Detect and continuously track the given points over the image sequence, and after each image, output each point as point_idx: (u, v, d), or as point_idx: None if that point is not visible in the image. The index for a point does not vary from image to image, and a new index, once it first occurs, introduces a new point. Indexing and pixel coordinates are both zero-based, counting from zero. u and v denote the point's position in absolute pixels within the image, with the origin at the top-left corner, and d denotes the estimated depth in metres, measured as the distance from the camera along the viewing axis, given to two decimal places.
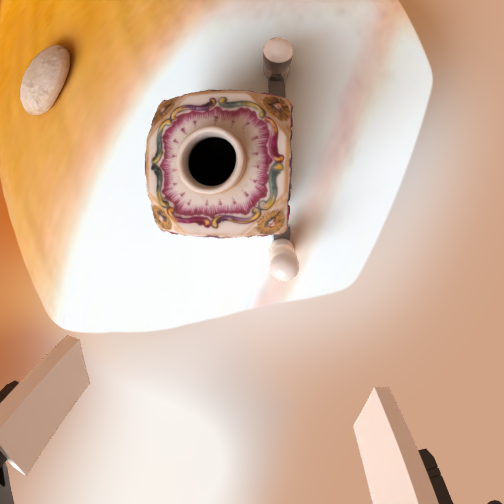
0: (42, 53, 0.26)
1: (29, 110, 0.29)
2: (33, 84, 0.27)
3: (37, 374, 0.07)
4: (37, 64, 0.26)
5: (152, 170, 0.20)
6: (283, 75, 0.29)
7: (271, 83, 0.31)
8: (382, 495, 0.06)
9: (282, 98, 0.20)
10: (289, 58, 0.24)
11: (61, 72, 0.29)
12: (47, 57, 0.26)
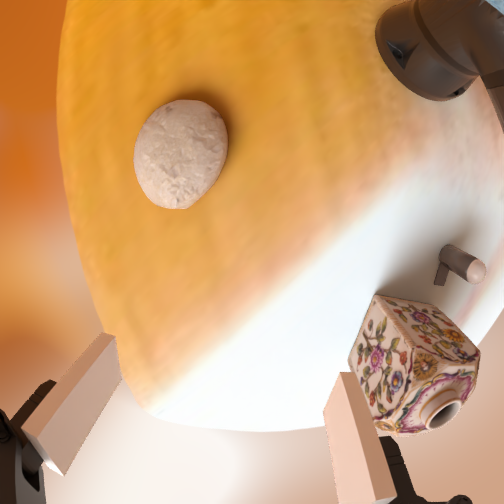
0: (185, 113, 0.26)
1: (159, 205, 0.29)
2: (177, 173, 0.27)
3: (76, 372, 0.08)
4: (181, 134, 0.26)
5: (402, 410, 0.22)
6: None
7: (440, 268, 0.34)
8: (343, 480, 0.07)
9: (479, 353, 0.22)
10: None
11: (220, 164, 0.29)
12: (199, 130, 0.27)
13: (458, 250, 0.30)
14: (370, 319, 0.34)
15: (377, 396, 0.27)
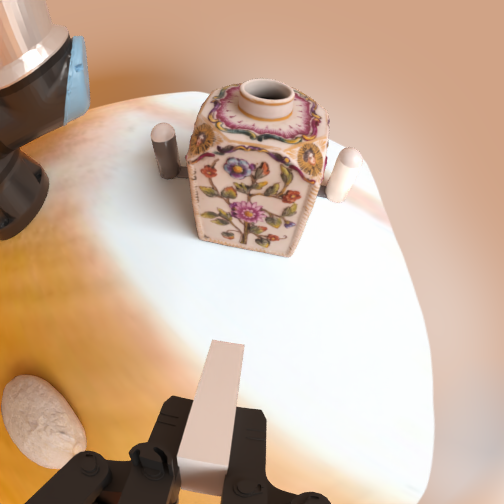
0: (4, 400, 0.18)
1: (68, 453, 0.17)
2: (35, 421, 0.17)
3: (209, 383, 0.10)
4: (12, 407, 0.17)
5: (262, 140, 0.20)
6: None
7: (181, 175, 0.38)
8: None
9: None
10: None
11: (44, 385, 0.21)
12: (13, 391, 0.18)
13: None
14: (223, 237, 0.32)
15: (280, 189, 0.24)
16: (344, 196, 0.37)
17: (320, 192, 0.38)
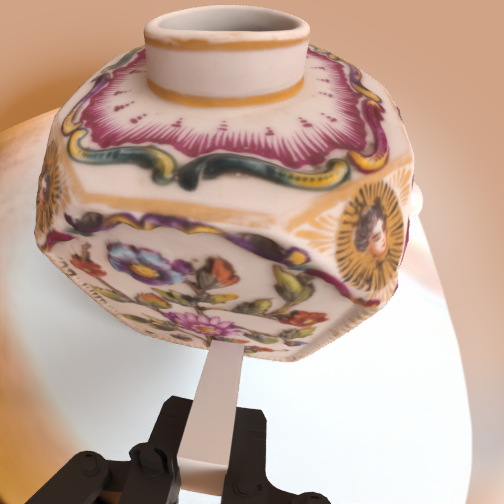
0: None
1: None
2: None
3: (209, 383, 0.10)
4: None
5: (199, 185, 0.05)
6: None
7: None
8: None
9: None
10: None
11: None
12: None
13: None
14: None
15: (276, 308, 0.09)
16: None
17: None
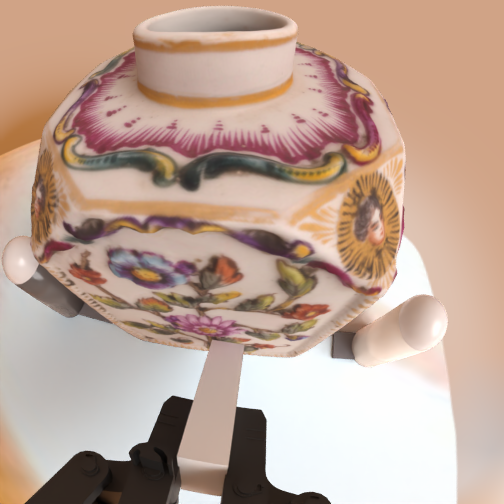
0: None
1: None
2: None
3: (209, 383, 0.10)
4: None
5: (201, 184, 0.05)
6: None
7: (85, 312, 0.19)
8: None
9: None
10: None
11: None
12: None
13: None
14: None
15: (278, 303, 0.09)
16: None
17: (343, 350, 0.19)
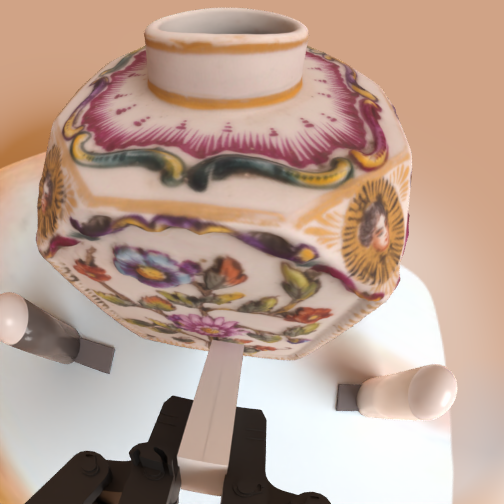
0: None
1: None
2: None
3: (209, 383, 0.10)
4: None
5: (209, 185, 0.05)
6: (68, 334, 0.16)
7: (81, 360, 0.17)
8: None
9: None
10: (26, 305, 0.12)
11: None
12: None
13: None
14: None
15: (281, 306, 0.09)
16: None
17: (348, 403, 0.17)
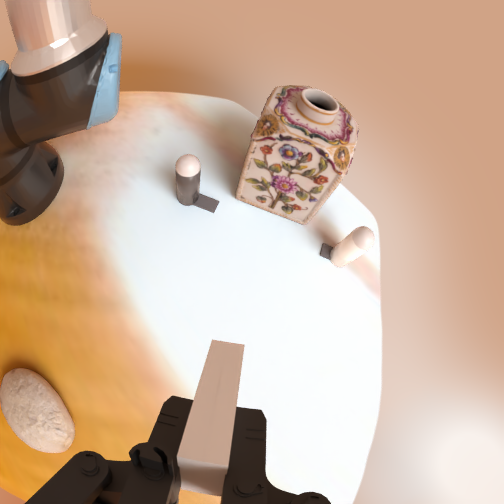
0: (4, 390, 0.21)
1: (61, 445, 0.21)
2: (35, 417, 0.20)
3: (209, 383, 0.10)
4: (12, 400, 0.20)
5: (313, 138, 0.27)
6: None
7: (198, 204, 0.40)
8: None
9: None
10: None
11: (43, 384, 0.24)
12: (14, 386, 0.21)
13: (176, 184, 0.37)
14: (256, 200, 0.40)
15: (315, 173, 0.31)
16: (346, 264, 0.39)
17: (326, 253, 0.41)
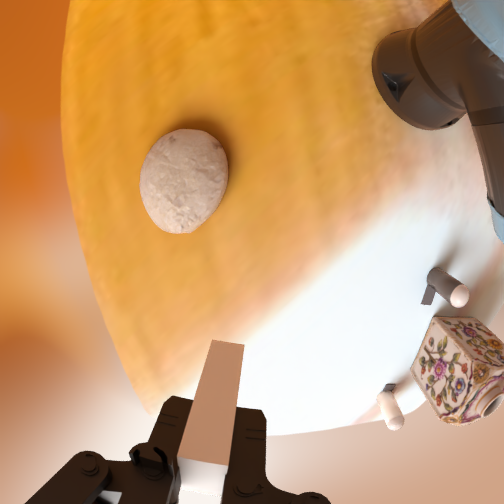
0: (188, 144, 0.29)
1: (165, 230, 0.32)
2: (182, 203, 0.30)
3: (209, 383, 0.10)
4: (184, 166, 0.29)
5: (465, 406, 0.25)
6: None
7: (428, 289, 0.37)
8: None
9: None
10: None
11: (221, 192, 0.32)
12: (201, 161, 0.29)
13: (444, 274, 0.33)
14: (430, 337, 0.37)
15: (443, 398, 0.29)
16: None
17: (387, 388, 0.42)
